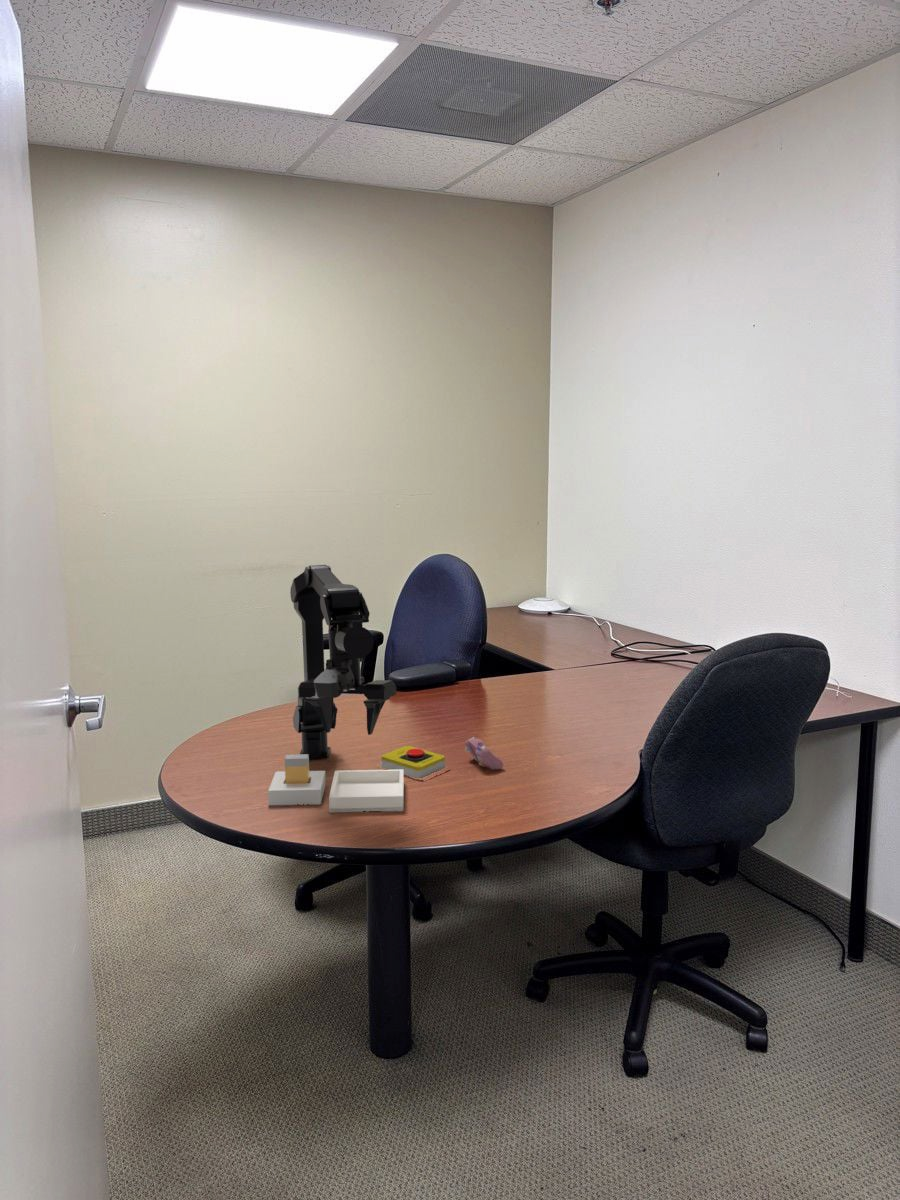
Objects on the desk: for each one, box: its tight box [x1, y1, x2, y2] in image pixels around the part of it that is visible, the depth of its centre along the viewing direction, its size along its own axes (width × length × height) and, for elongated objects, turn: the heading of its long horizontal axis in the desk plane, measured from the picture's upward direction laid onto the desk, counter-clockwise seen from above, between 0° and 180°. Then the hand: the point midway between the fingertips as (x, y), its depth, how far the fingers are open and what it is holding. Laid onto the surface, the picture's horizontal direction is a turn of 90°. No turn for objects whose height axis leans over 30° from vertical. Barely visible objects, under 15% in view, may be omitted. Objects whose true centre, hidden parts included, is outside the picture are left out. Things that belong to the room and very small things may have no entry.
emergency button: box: [380, 745, 446, 778], centre depth 190 cm, size 9×4×15 cm
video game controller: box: [464, 736, 504, 771], centre depth 191 cm, size 10×5×7 cm, turn 21°
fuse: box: [284, 753, 310, 784], centre depth 174 cm, size 2×4×8 cm, turn 93°
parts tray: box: [328, 769, 405, 814], centre depth 174 cm, size 14×14×3 cm
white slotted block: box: [267, 770, 326, 806], centre depth 175 cm, size 10×10×3 cm
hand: (348, 733), depth 169 cm, fingers open, 9 cm apart
